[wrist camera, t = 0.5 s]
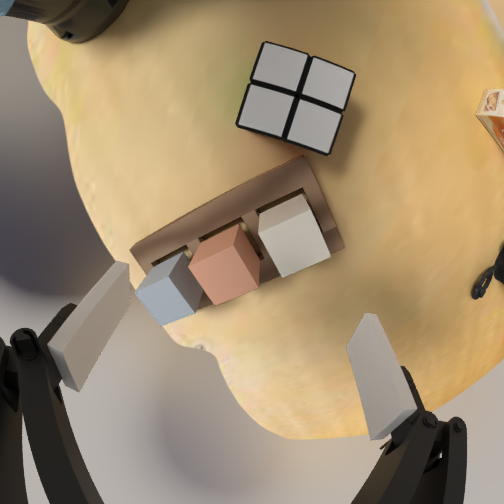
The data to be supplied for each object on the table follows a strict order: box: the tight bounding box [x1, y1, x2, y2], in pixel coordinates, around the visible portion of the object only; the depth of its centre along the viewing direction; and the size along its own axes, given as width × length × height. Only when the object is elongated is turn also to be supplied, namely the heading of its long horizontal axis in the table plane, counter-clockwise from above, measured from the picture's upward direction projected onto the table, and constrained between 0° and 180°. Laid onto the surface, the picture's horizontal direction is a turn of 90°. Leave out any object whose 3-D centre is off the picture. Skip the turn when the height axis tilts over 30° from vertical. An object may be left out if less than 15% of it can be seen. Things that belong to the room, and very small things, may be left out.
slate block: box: [135, 252, 203, 326], centre depth 36 cm, size 6×6×7 cm
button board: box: [130, 155, 344, 310], centre depth 39 cm, size 14×29×2 cm, turn 118°
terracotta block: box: [188, 224, 260, 305], centre depth 34 cm, size 6×6×7 cm
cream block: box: [258, 194, 331, 278], centre depth 32 cm, size 6×6×7 cm
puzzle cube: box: [235, 41, 356, 156], centre depth 27 cm, size 10×10×10 cm
